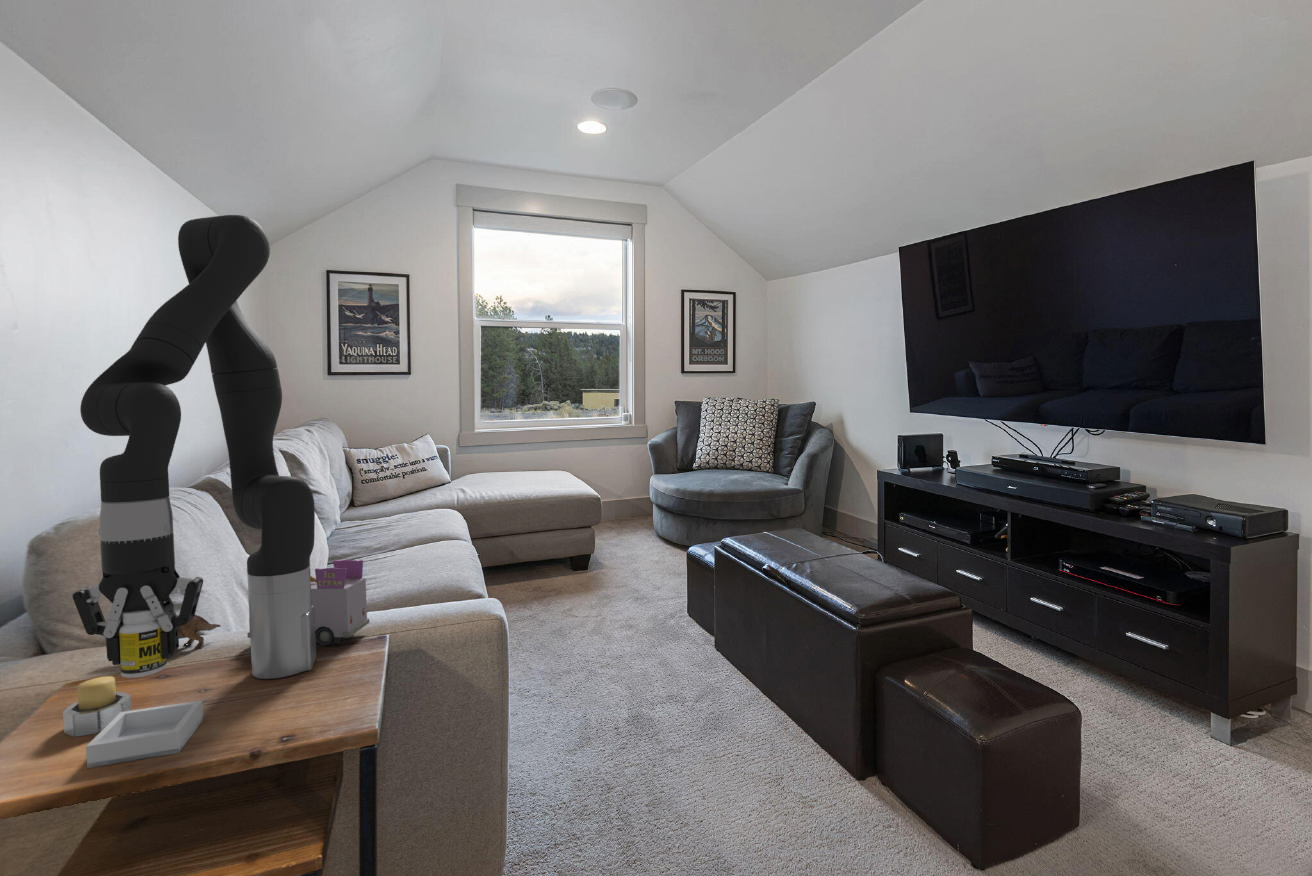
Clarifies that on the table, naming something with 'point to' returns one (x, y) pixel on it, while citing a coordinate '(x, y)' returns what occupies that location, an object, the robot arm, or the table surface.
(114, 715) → the socket
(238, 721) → the table surface
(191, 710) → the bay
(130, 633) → the supplement bottle
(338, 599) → the toy vehicle
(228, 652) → the table surface
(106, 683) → the yellow rounded lump
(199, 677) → the table surface
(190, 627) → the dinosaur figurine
